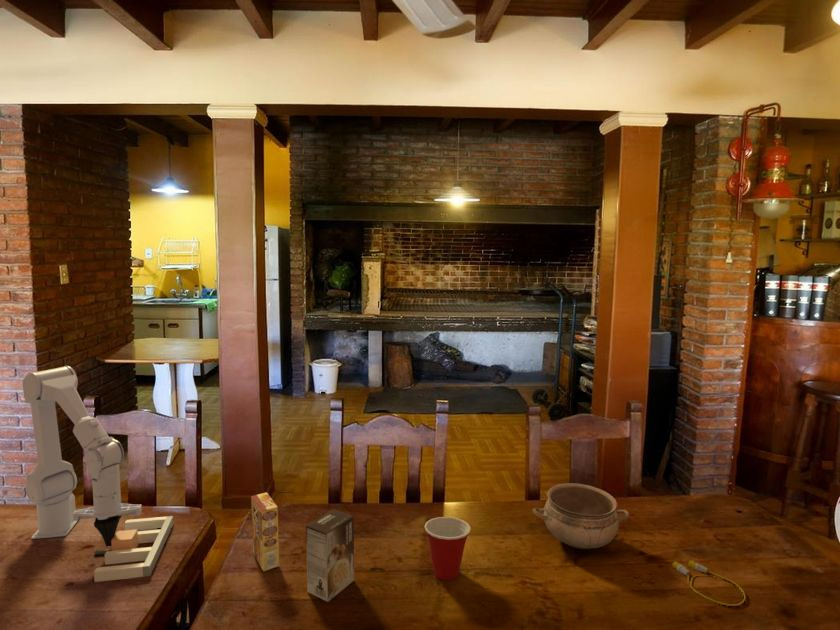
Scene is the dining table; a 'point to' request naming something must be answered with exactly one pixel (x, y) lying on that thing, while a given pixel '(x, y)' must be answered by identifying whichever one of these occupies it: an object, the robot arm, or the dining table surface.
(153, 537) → the cord comb
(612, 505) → the cooking pot
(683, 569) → the yellow looped cord
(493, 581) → the dining table surface
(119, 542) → the tan handled block
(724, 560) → the dining table surface
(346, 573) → the coffee box
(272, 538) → the candy box
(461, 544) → the plastic cup
